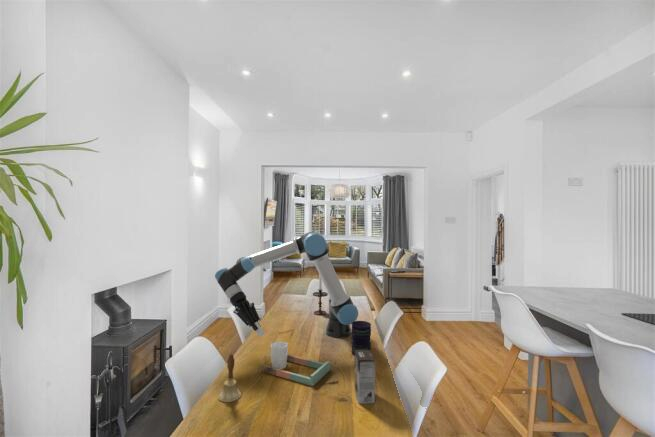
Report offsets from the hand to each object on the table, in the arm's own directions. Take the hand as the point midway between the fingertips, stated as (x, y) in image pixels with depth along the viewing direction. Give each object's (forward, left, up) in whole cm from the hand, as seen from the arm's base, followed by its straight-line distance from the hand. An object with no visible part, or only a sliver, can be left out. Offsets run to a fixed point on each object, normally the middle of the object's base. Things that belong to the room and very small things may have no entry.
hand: (261, 334), depth 148 cm
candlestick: (-30, -77, -13) cm, 84 cm away
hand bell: (+7, +29, -13) cm, 33 cm away
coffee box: (-44, +31, -13) cm, 55 cm away
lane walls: (-9, +5, -13) cm, 16 cm away
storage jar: (-49, -8, -13) cm, 51 cm away
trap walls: (-16, +9, -13) cm, 22 cm away
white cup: (-9, +5, -13) cm, 16 cm away
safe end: (-23, +13, -13) cm, 29 cm away
